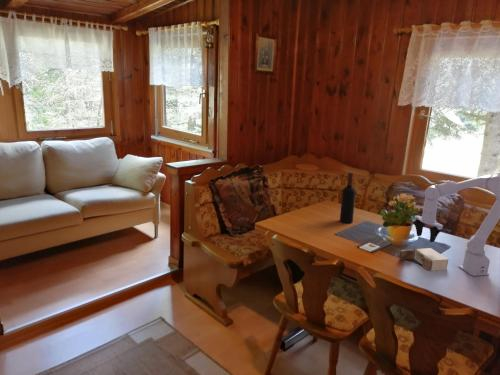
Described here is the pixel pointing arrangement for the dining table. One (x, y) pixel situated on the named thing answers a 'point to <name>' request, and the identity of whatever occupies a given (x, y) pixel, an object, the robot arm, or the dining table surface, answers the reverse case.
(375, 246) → the chocolate bar
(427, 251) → the cabinet
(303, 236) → the dining table surface
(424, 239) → the dining table surface
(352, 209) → the wine bottle
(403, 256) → the door
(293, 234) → the dining table surface
